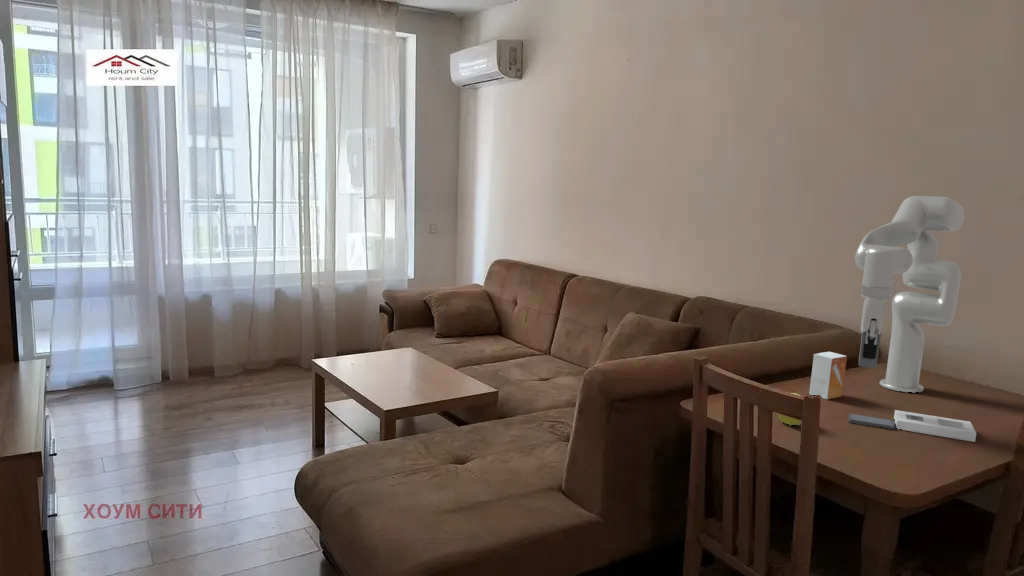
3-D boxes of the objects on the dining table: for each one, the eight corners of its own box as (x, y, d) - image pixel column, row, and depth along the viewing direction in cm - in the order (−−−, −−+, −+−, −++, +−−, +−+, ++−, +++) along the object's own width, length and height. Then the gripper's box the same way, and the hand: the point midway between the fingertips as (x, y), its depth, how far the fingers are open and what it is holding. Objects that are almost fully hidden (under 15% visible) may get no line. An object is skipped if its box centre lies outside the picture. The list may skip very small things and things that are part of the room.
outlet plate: (893, 418, 197) (895, 409, 196) (969, 430, 189) (970, 421, 189) (896, 428, 188) (897, 419, 187) (975, 442, 180) (976, 432, 180)
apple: (812, 419, 190) (811, 387, 186) (800, 434, 185) (799, 401, 181) (784, 411, 195) (782, 380, 192) (771, 426, 190) (769, 394, 187)
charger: (858, 362, 200) (862, 328, 198) (876, 364, 198) (880, 330, 197) (858, 366, 196) (862, 331, 194) (876, 368, 194) (880, 333, 193)
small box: (827, 400, 211) (832, 358, 209) (808, 394, 216) (813, 353, 214) (842, 396, 216) (847, 355, 214) (823, 391, 221) (828, 350, 219)
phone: (848, 416, 197) (849, 413, 197) (893, 423, 192) (893, 420, 192) (848, 422, 191) (849, 419, 191) (894, 430, 187) (894, 426, 187)
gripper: (861, 287, 203) (854, 348, 206) (861, 295, 188) (853, 360, 191) (890, 289, 200) (882, 351, 203) (893, 298, 185) (884, 364, 188)
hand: (868, 355), depth 197 cm, fingers closed on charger, 4 cm apart
